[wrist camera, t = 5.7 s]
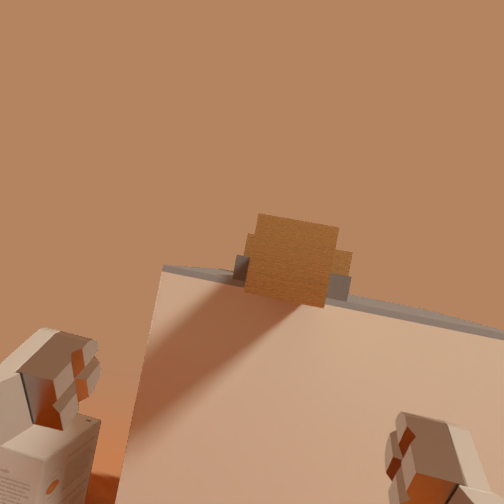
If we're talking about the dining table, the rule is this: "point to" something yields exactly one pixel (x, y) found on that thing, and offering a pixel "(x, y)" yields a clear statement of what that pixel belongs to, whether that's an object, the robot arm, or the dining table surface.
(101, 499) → the dining table surface
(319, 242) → the wooden t-shaped block
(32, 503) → the small box
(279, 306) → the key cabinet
